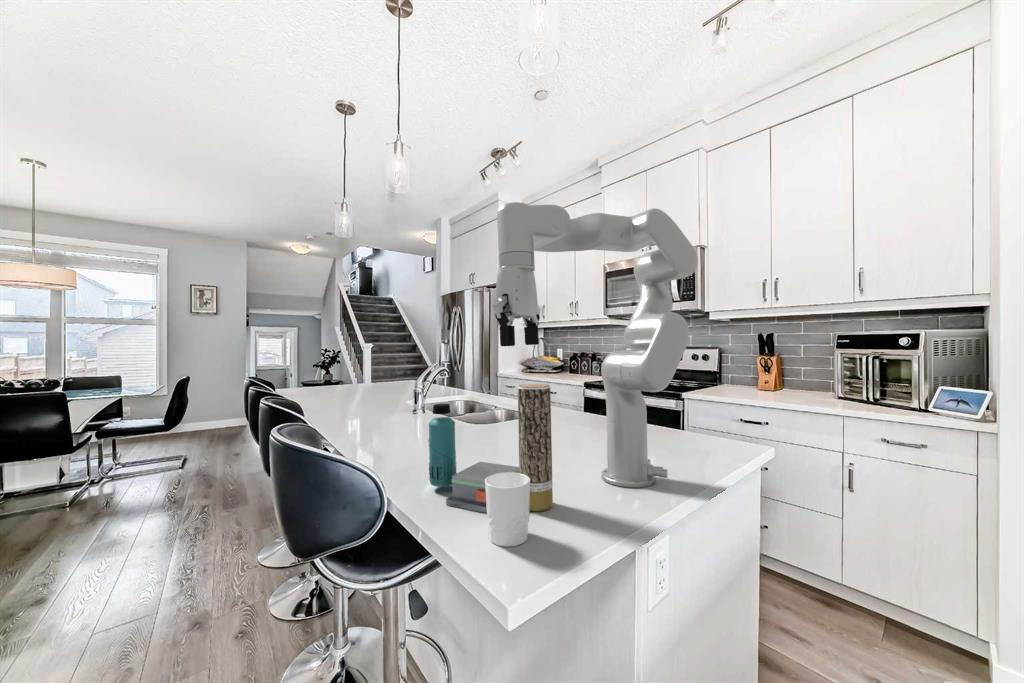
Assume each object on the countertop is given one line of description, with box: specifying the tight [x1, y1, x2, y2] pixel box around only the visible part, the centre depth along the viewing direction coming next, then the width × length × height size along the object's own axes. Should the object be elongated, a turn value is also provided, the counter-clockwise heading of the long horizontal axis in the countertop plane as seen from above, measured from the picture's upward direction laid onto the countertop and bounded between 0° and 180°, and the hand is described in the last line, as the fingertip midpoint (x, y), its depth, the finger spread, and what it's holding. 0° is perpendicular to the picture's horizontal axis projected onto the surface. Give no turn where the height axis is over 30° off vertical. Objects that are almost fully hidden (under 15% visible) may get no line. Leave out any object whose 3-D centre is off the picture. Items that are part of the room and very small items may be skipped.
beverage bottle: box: [428, 403, 458, 488], centre depth 92 cm, size 6×7×20 cm
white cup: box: [485, 472, 530, 548], centre depth 67 cm, size 8×8×10 cm
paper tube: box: [517, 383, 554, 512], centre depth 81 cm, size 7×7×25 cm
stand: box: [445, 461, 519, 514], centre depth 85 cm, size 13×13×6 cm
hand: (520, 345), depth 82 cm, fingers open, 9 cm apart
